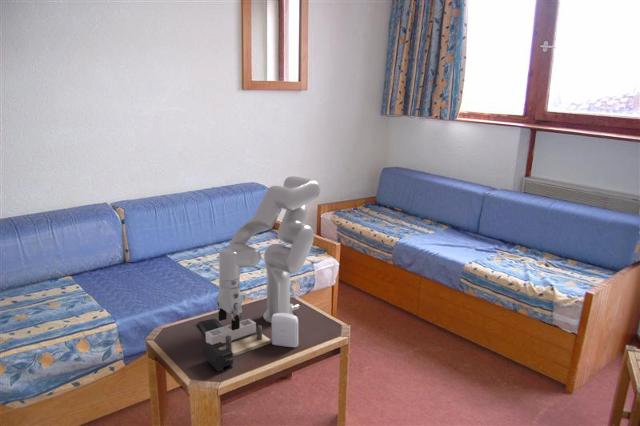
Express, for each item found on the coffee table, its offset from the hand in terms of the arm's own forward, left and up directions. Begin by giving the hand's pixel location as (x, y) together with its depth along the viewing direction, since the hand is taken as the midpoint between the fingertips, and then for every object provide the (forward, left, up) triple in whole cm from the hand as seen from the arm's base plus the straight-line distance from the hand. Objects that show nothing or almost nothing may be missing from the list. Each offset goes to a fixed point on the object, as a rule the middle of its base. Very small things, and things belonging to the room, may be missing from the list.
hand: (228, 324), depth 190 cm
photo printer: (-14, +17, -6) cm, 23 cm away
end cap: (+13, +15, -6) cm, 20 cm away
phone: (+2, -10, -6) cm, 12 cm away
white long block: (-1, 0, -6) cm, 6 cm away
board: (-1, +9, -6) cm, 11 cm away
